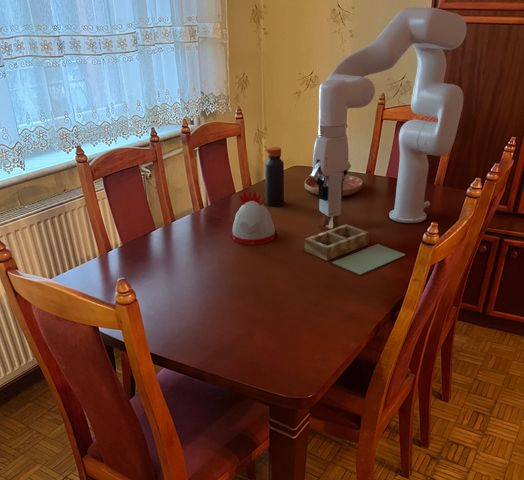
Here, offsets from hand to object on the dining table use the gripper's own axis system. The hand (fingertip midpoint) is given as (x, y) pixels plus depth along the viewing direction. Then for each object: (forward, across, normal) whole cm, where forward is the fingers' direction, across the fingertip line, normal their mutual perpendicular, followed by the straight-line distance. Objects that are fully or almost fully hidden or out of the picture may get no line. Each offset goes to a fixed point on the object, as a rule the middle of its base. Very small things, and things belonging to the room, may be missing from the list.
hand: (330, 196), depth 157 cm
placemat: (+17, -4, +12) cm, 22 cm away
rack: (+17, -3, 0) cm, 17 cm away
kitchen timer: (+17, +10, -25) cm, 32 cm away
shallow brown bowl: (+18, -43, -41) cm, 62 cm away
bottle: (+18, -16, -45) cm, 51 cm away
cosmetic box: (+5, 0, 0) cm, 5 cm away
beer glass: (+17, -14, -14) cm, 27 cm away
